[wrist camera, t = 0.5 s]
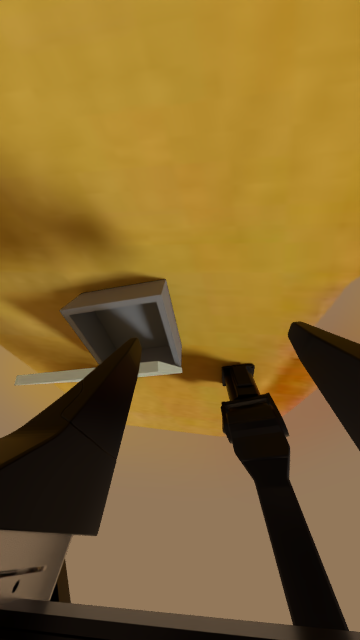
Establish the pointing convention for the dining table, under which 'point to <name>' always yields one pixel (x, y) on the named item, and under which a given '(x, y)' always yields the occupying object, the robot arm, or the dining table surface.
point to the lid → (79, 374)
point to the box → (127, 321)
